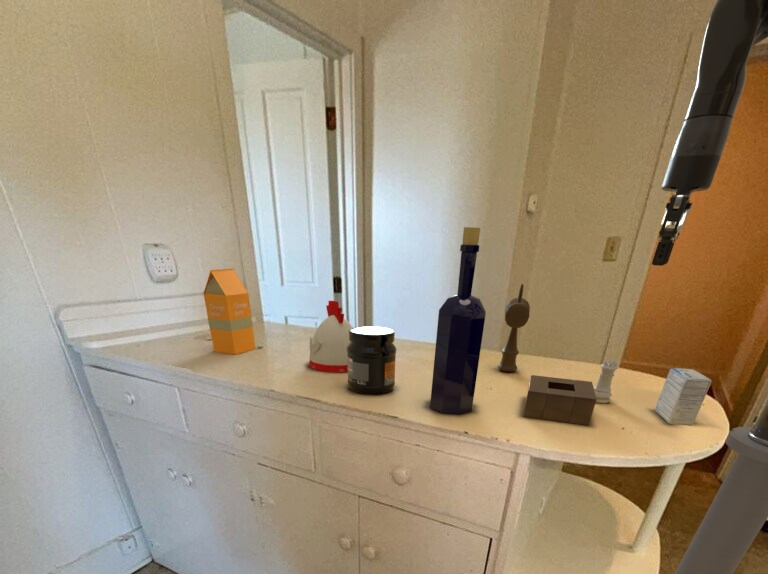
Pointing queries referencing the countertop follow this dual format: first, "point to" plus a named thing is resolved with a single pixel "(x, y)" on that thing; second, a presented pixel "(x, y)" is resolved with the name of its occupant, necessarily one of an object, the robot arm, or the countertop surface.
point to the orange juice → (228, 312)
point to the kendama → (514, 330)
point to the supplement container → (371, 360)
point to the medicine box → (682, 396)
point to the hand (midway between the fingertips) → (659, 264)
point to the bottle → (459, 338)
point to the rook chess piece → (605, 382)
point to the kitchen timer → (331, 342)
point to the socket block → (560, 400)
